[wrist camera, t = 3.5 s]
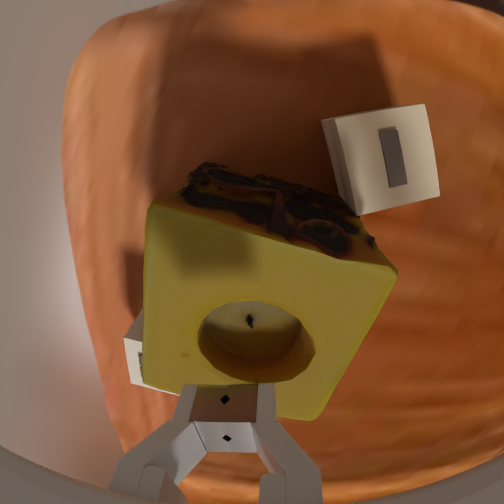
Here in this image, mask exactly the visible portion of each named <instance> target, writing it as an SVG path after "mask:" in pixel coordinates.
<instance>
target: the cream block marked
mask: <svg viewBox="0 0 504 504" xmlns="http://www.w3.org/2000/svg"><path fill="white" fill-rule="evenodd" d="M142 325H143V308H142V310H141V311H140V313H139V314H138V316H137V317H136V319H135V320H134V322H133V324H132V325H131V327H130V328H129V330H128V331H127V333H126V335H125V336H124V343H125V350H126V356H127V363H128V368H129V374H130V380H131V383H132V384H136V385H140V386H143V387H147V388H151V389H155V390H158V391H162V392H167V393H171V392H168V391H164V390H160V389H157V388H154V387H152V386H149V385H147V384H144V383H143V380H142V372H141V370H142ZM171 394H175V393H171ZM175 395H178V394H175ZM179 396H180V395H179Z"/></svg>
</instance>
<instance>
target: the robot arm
mask: <svg viewBox="0 0 504 504" xmlns="http://www.w3.org/2000/svg"><path fill="white" fill-rule="evenodd" d="M206 451H208V452H257V454H258V455H259V457H260V458H261V460H262V461H263V463H264V464H265V466H266V467H267V469H268V470H269V472H270V474H264V475H263V476H262V477H261V478H260V492H259V504H323V497H322V484H321V472H320V468H319V467H318V466H317V465H316V464H315V463H314V462H313V461H312V460H311V459H310V457H309V456H308V455H307V454H306V453H305V452H304V451H303V450H302V448H301V447H300V446H299V445H298V444H297V443H296V442H295V440H294V439H293V438H292V437H291V436H290V435H289V433H288V432H287V431H286V430H285V429H284V428H283V426H282V425H281V424H280V423H279V422H278V409H277V398H276V388H275V383H256V384H231V385H209V384H184V386H183V387H182V390H181V393H180V396H179V399H178V403H177V406H176V409H175V412H174V416H173V419H172V421H171V420H168V421H166V422H165V423H164V424H163V425H162V426H160V427H159V428H158V429H157V430H155V431H154V432H153V433H152V434H150V435H149V436H148V437H147V438H145V439H144V440H143V441H142V442H140V443H139V444H138V445H136V446H135V447H134V448H133V449H131V450H130V451H129V452H127V453H126V454H125V455H123V456H122V457H121V458H120V459H119V461H118V464H117V466H116V469H115V472H114V474H113V477H112V480H111V482H110V485H109V488H108V489H104V488H101V487H98V486H95V485H92V484H88V483H86V482H82V481H79V480H77V479H74V478H71V477H68V476H66V475H63V474H61V473H58V472H55V471H53V470H51V469H48V468H46V467H43V466H41V465H39V464H36V463H34V462H32V461H30V460H28V459H26V458H24V457H22V456H20V455H17V454H16V453H14V452H12V451H10V450H8V449H6V448H4V447H2V446H0V504H187V502H188V499H187V497H186V496H185V495H184V494H183V493H182V491H181V490H180V489H179V488H178V487H177V485H178V484H179V483H180V482H181V481H182V480H183V479H184V478H185V477H186V476H187V475H188V473H189V472H190V471H191V470H192V469H193V468H194V467H195V466H196V465H197V464H198V462H199V461H200V460H201V459H202V458H203V457H204V456H205V454H206V453H207V452H206ZM348 504H504V453H503V454H501V455H499V456H497V457H495V458H493V459H491V460H489V461H487V462H485V463H483V464H480V465H478V466H476V467H473V468H471V469H469V470H466V471H464V472H461V473H459V474H456V475H454V476H451V477H448V478H446V479H443V480H440V481H437V482H434V483H431V484H428V485H425V486H422V487H418V488H415V489H412V490H408V491H404V492H401V493H397V494H393V495H389V496H384V497H380V498H375V499H370V500H365V501H360V502H354V503H348Z"/></svg>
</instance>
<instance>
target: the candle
mask: <svg viewBox="0 0 504 504" xmlns="http://www.w3.org/2000/svg"><path fill="white" fill-rule="evenodd" d="M183 187H184V188H182V189H181V190H179V191H178V192H177V193H168V194H167V195H166V196H164V197H161V198H158V199H154V201H153V202H152V204H151V205H150V207H149V208H148V210H147V218H146V226H145V250H144V267H143V325H142V370H141V372H142V380H143V383H144V384H147V385H149V386H152V387H154V388H157V389H160V390H164V391H168V392H171V393H175V394H178V395H180V393H181V390H182V387H183V386H184V384H209V385H231V384H256V383H275V388H276V398H277V409H278V416H279V417H285V418H292V419H299V420H306V421H310V420H314V419H317V417H318V416H319V415H320V414H321V412H322V411H323V410H324V408H325V406H326V404H327V402H328V401H329V399H330V397H331V395H332V393H333V390H334V388H335V387H336V385H337V383H338V382H339V380H340V378H341V377H342V375H343V373H344V372H345V370H346V368H347V367H348V365H349V364H350V362H351V360H352V359H353V357H354V355H355V353H356V352H357V350H358V348H359V346H360V345H361V343H362V341H363V339H364V337H365V336H366V334H367V332H368V331H369V329H370V327H371V326H372V324H373V322H374V321H375V319H376V317H377V316H378V314H379V312H380V310H381V309H382V307H383V305H384V303H385V301H386V299H387V297H388V296H389V294H390V292H391V290H392V288H393V286H394V284H395V281H396V279H397V277H398V270H397V269H396V268H395V267H394V266H393V265H392V264H391V262H390V261H389V260H388V259H387V258H386V257H385V256H384V254H383V253H382V252H381V251H380V250H379V249H378V247H377V245H376V243H375V241H374V240H375V238H374V237H372V236H370V235H369V234H368V232H367V231H366V230H365V229H364V227H363V224H362V222H361V220H360V217H359V216H357V215H356V214H355V213H354V212H353V210H352V209H351V208H350V207H349V206H348V204H347V203H346V202H345V201H344V200H343V199H341V198H337V197H334V196H330V195H327V194H324V193H321V192H318V191H314V190H313V189H311V188H310V187H309V188H306V187H304V186H302V185H298V184H294V183H288V182H285V181H283V180H281V179H277V178H273V177H268V178H266V177H265V176H264V175H263V174H259V175H257V176H256V177H255V178H248V177H246V176H244V175H242V174H239V173H237V172H233V171H231V170H230V169H228V168H227V167H225V166H223V165H217V164H215V163H208V162H205V163H203V164H202V165H200V166H199V167H197V170H194V172H190V174H189V175H188V178H187V180H186V183H185V185H184V186H183Z"/></svg>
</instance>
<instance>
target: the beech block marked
mask: <svg viewBox="0 0 504 504" xmlns="http://www.w3.org/2000/svg"><path fill="white" fill-rule="evenodd" d="M320 121H321V125H322V128H323V132H324V135H325V139H326V143H327V147H328V151H329V155H330V159H331V163H332V167H333V171H334V175H335V179H336V183H337V188H338V192H339V195H340V196H341V197H342V198H343V200H344V201H345V202H346V203H347V204H348V206H349V207H350V208H351V209H352V210H353V212H354V213H355V214H356V215H357V216H359V215H363V214H367V213H371V212H376V211H380V210H384V209H388V208H392V207H396V206H400V205H404V204H409V203H413V202H417V201H421V200H425V199H429V198H434V197H438V196H440V192H439V183H438V175H437V168H436V161H435V154H434V148H433V142H432V137H431V132H430V127H429V122H428V117H427V113H426V108H425V104H417V105H404V106H393V107H386V108H380V109H374V110H368V111H363V112H357V113H352V114H347V115H342V116H337V117H333V118H328V119H323V120H320Z"/></svg>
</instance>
